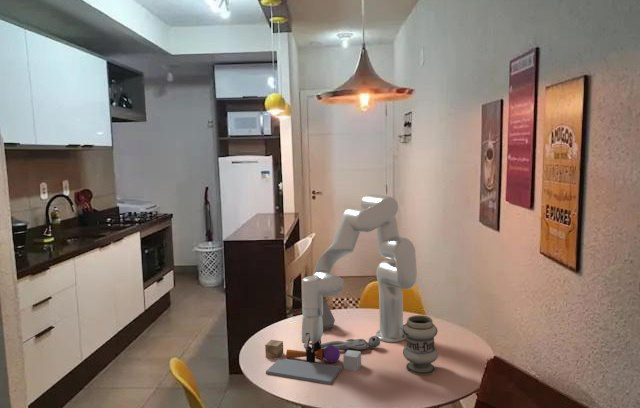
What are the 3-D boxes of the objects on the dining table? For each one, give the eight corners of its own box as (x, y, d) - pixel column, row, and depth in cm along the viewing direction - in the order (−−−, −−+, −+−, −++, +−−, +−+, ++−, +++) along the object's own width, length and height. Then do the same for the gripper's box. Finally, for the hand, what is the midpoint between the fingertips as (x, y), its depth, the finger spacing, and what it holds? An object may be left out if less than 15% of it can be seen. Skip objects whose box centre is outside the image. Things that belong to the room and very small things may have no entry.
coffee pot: (335, 322, 210) (334, 289, 209) (334, 331, 199) (333, 297, 197) (288, 322, 211) (287, 290, 210) (285, 332, 200) (283, 298, 198)
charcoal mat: (341, 369, 164) (341, 367, 164) (330, 384, 154) (330, 381, 153) (280, 360, 173) (279, 358, 172) (265, 373, 162) (265, 371, 162)
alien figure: (315, 336, 184) (378, 331, 185) (316, 348, 185) (378, 343, 185) (315, 345, 176) (381, 339, 177) (316, 357, 177) (382, 352, 177)
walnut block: (283, 353, 179) (282, 341, 178) (277, 359, 174) (277, 346, 174) (271, 352, 180) (271, 339, 180) (265, 357, 176) (265, 344, 175)
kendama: (289, 344, 177) (341, 343, 172) (290, 360, 177) (342, 360, 172) (284, 347, 172) (337, 347, 167) (285, 364, 171) (338, 364, 166)
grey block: (361, 365, 167) (361, 351, 167) (357, 371, 163) (356, 357, 162) (348, 363, 169) (347, 349, 169) (343, 369, 164) (343, 355, 164)
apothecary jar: (395, 367, 164) (395, 318, 162) (418, 357, 171) (418, 310, 169) (422, 380, 155) (422, 327, 153) (445, 369, 162) (445, 319, 160)
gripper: (312, 302, 179) (313, 348, 181) (293, 317, 164) (295, 366, 166) (330, 304, 177) (331, 350, 179) (313, 319, 161) (314, 369, 163)
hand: (313, 357), depth 172 cm, fingers closed on kendama, 5 cm apart
